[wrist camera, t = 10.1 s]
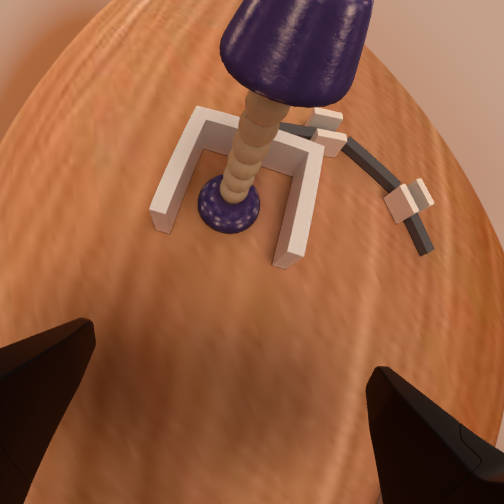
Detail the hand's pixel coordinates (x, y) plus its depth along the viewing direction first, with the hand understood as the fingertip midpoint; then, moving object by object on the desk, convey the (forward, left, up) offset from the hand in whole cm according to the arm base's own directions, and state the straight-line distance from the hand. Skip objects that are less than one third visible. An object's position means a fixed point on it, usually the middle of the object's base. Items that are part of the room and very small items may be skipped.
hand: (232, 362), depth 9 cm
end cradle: (+4, +9, -10) cm, 14 cm away
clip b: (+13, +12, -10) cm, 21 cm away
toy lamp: (+4, +8, -10) cm, 14 cm away
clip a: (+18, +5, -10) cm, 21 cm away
